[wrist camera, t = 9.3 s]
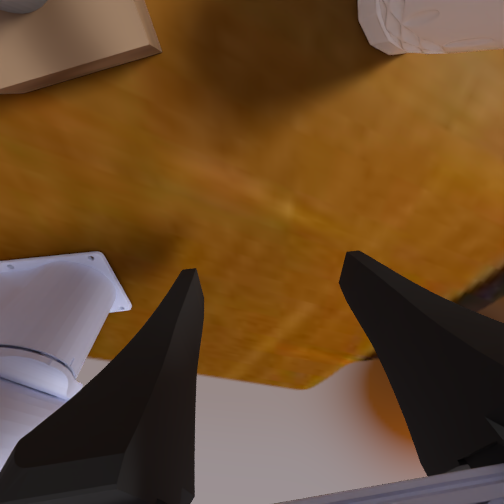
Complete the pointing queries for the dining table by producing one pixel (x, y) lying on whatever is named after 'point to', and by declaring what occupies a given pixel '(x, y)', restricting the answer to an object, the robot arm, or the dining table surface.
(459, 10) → the white cup
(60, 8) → the walnut box
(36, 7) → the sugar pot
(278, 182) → the dining table surface
